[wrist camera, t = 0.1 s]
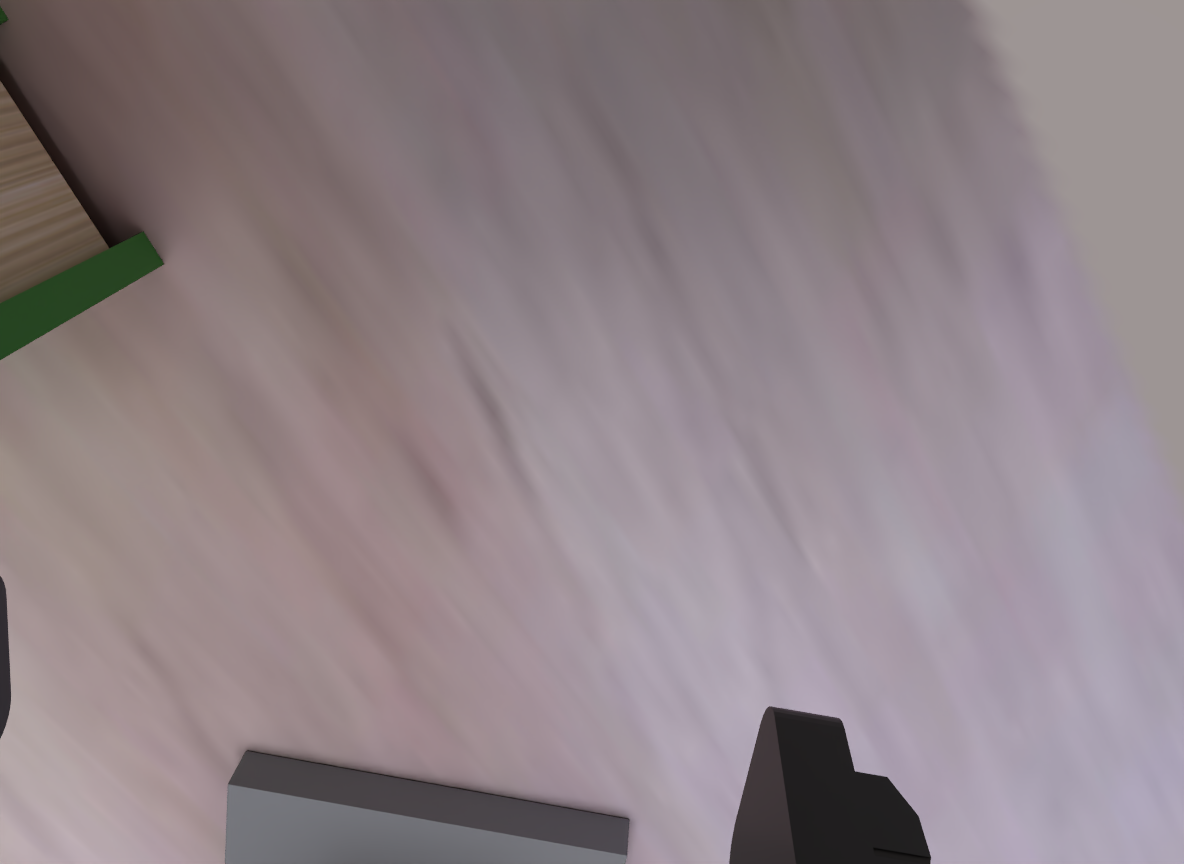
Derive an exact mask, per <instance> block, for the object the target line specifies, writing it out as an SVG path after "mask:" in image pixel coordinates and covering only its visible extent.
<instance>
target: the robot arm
mask: <svg viewBox="0 0 1184 864" xmlns="http://www.w3.org/2000/svg"><path fill="white" fill-rule="evenodd" d="M10 703H11V684H10V663H9V641H8V620H7V599H6V589H5V585H4V582H3V580H2V578H1V577H0V738H1V736H2V734H3V731H4V728H5V726H6V723H7V719H8V715H9V710H10ZM930 860H931V856H930V852H929V849H928V846H927V843H926V839H925V836H924V833H923V830H922V826H921V823H920V820H919V816H918V815H917V814H916V812H915V811H914V810H913V809H912V807H911V806H910V805H909V804H908V803H907V801H906V800H905V799H904V798H903V796H902V795H901V794H900V793H899V791H898V790H897V789H896V788H895V786H894V785H893V784H892V783H891V781H890V780H889V779H888V778H887V777H883V776H878V775H872V774H866V773H860V772H855V771H854V766H853V762H852V758H851V754H850V750H849V746H848V741H847V737H846V733H845V729H844V726H843V723H842V721H841V720H840V719H839V718H835V717H829V716H823V715H817V714H811V713H806V712H800V711H794V710H788V709H782V708H776V707H770V706H769V707H768V708H767V709H766V711H765V713H764V715H763V718H762V721H761V724H760V728H759V732H758V736H757V740H756V744H755V748H754V752H753V755H752V759H751V763H750V767H749V771H748V775H747V779H746V783H745V787H744V791H743V795H742V799H741V803H740V807H739V810H738V814H737V818H736V822H735V827H734V832H733V838H732V844H731V852H730V863H729V864H930Z"/></svg>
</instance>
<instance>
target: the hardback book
mask: <svg viewBox="0 0 1184 864" xmlns="http://www.w3.org/2000/svg"><path fill="white" fill-rule="evenodd" d="M7 20H9V19H8V18H7V16H6V15H5V13H4V11H3V10H2V8H1V7H0V25H1V24H2V23H4V22H6V21H7ZM162 265H164V263H163V261H162V260H161V258H160V257H159V255H158V254H157V252H156V250H155V249H154V247H153V246H152V244H151V243H150V241H149V239H148V238H147V236H146V235H145V233H144V232H141V233H139V234H137V235H135V236H133V237H131V238H129V239H127V240H125V241H123V242H121V243H119V244H117V245H115V246H113V247H111V248H109V247H108V246H107V244H106V242H105V241H104V239H103V238H102V236H101V235H100V233H99V232H98V230H97V229H96V227H95V226H94V224H93V223H92V221H91V219H90V218H89V216H88V215H87V213H86V212H85V210H84V209H83V207H82V206H81V204H80V203H79V201H78V199H77V198H76V196H75V195H74V193H73V192H72V190H71V189H70V187H69V186H68V184H67V183H66V181H65V179H64V178H63V176H62V175H61V173H60V172H59V170H58V169H57V167H56V166H55V164H54V163H53V161H52V160H51V158H50V156H49V155H48V153H47V152H46V150H45V149H44V147H43V146H42V144H41V143H40V141H39V140H38V138H37V136H36V135H35V133H34V132H33V130H32V129H31V127H30V126H29V124H28V123H27V121H26V120H25V118H24V117H23V115H22V113H21V112H20V110H19V109H18V107H17V106H16V104H15V103H14V101H13V100H12V98H11V97H10V95H9V93H8V92H7V90H6V89H5V87H4V86H3V84H2V83H1V81H0V360H1V359H3V358H5V357H6V356H8V355H10V354H11V353H13V352H15V351H17V350H18V349H20V348H22V347H23V346H25V345H27V344H29V343H30V342H32V341H34V340H35V339H37V338H39V337H40V336H42V335H44V334H46V333H47V332H49V331H51V330H52V329H54V328H56V327H58V326H59V325H61V324H63V323H64V322H66V321H68V320H70V319H71V318H73V317H75V316H76V315H78V314H80V313H82V312H83V311H85V310H87V309H88V308H90V307H92V306H93V305H95V304H97V303H99V302H100V301H102V300H104V299H105V298H107V297H109V296H111V295H112V294H114V293H116V292H117V291H119V290H121V289H123V288H124V287H126V286H128V285H129V284H131V283H133V282H134V281H136V280H138V279H140V278H141V277H143V276H145V275H146V274H148V273H150V272H152V271H153V270H155V269H157V268H158V267H160V266H162Z"/></svg>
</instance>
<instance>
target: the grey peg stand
mask: <svg viewBox="0 0 1184 864" xmlns="http://www.w3.org/2000/svg"><path fill="white" fill-rule="evenodd" d="M628 831H629V819H624V818H618V817H613V816H607V815H601V814H596V813H590V812H585V811H579V810H574V809H568V808H562V807H557V806H551V805H546V804H540V803H534V802H529V801H523V800H518V799H512V798H506V797H501V796H495V795H490V794H484V793H479V792H473V791H467V790H462V789H456V788H451V787H445V786H439V785H434V784H428V783H423V782H417V781H411V780H406V779H400V778H395V777H389V776H384V775H378V774H372V773H367V772H361V771H356V770H350V769H344V768H339V767H333V766H328V765H322V764H316V763H311V762H305V761H300V760H294V759H289V758H283V757H277V756H272V755H266V754H261V753H255V752H249V751H246V752H245V754H244V756H243V757H242V759H241V761H240V763H239V765H238V767H237V768H236V770H235V772H234V774H233V776H232V777H231V779H230V781H229V783H228V793H227V821H226V849H225V864H625V862H626V858H627V848H628Z"/></svg>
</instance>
